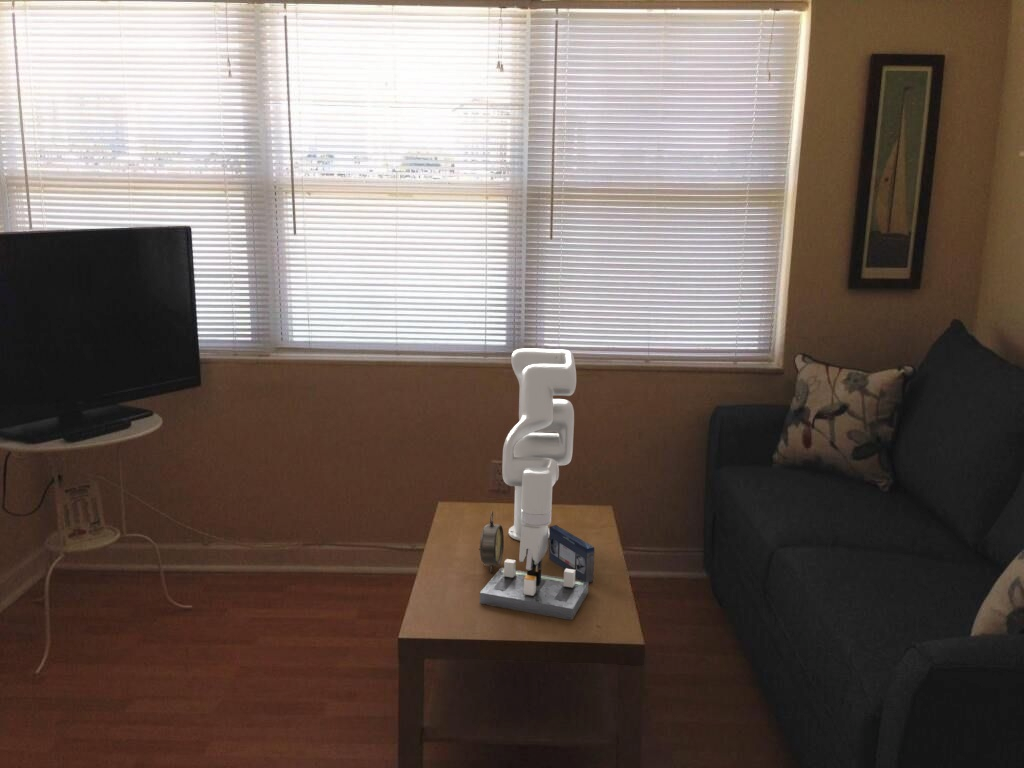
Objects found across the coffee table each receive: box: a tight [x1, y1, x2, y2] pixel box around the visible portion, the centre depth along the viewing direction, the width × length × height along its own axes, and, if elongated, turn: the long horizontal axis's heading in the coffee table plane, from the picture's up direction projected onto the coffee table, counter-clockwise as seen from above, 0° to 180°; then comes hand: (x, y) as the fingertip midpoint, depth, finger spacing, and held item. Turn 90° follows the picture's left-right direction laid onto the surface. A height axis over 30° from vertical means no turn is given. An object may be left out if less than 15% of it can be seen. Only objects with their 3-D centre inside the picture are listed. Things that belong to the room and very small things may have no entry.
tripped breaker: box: [524, 575, 536, 596], centre depth 227 cm, size 2×2×4 cm
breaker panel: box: [479, 567, 590, 621], centre depth 232 cm, size 16×24×3 cm, turn 71°
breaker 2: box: [563, 568, 576, 588], centre depth 232 cm, size 2×2×4 cm
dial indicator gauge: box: [478, 510, 505, 574], centre depth 248 cm, size 11×5×16 cm, turn 168°
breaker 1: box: [503, 558, 517, 578], centre depth 237 cm, size 2×2×4 cm
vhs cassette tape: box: [548, 524, 595, 583], centre depth 248 cm, size 18×3×10 cm, turn 29°
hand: (533, 583), depth 230 cm, fingers closed
